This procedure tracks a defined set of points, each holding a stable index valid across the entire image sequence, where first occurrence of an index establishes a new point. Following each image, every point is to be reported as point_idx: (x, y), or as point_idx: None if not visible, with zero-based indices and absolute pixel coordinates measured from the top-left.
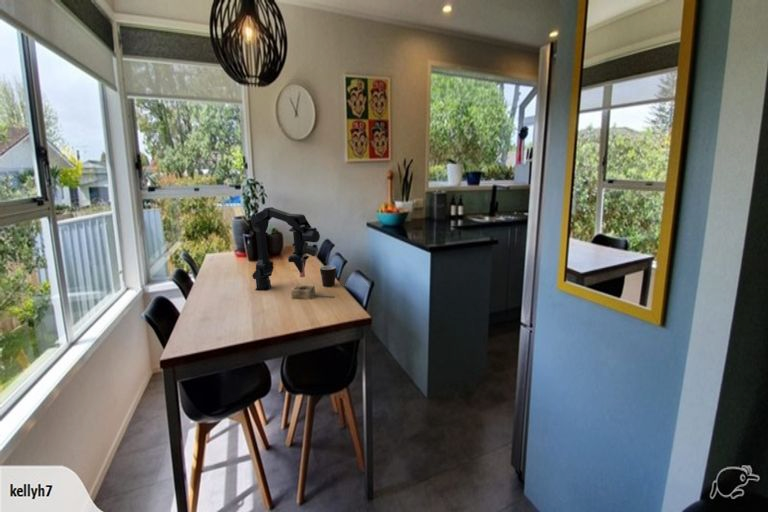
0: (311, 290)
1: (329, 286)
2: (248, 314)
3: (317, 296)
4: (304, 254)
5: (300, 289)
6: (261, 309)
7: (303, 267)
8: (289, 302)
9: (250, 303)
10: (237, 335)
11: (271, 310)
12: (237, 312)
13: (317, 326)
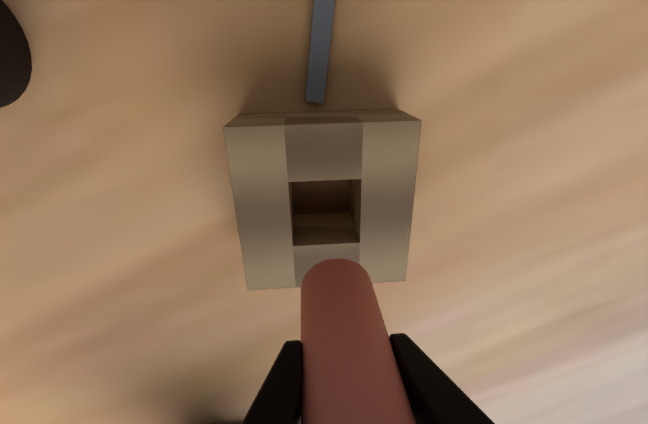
0: (341, 120)
1: (7, 11)
2: (610, 354)
3: (327, 57)
4: None
5: (360, 225)
6: (553, 331)
7: (388, 402)
8: (458, 234)
9: None
10: None
11: (583, 279)
12: (569, 401)
13: None
